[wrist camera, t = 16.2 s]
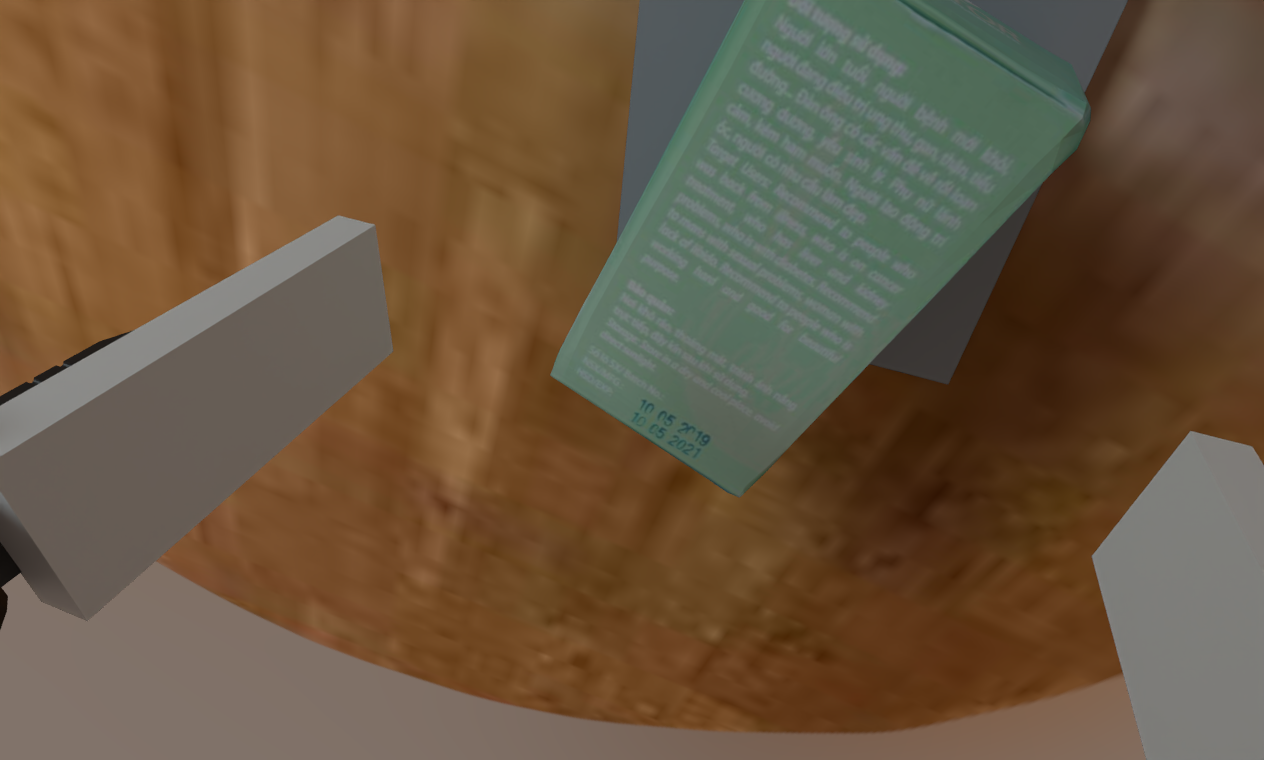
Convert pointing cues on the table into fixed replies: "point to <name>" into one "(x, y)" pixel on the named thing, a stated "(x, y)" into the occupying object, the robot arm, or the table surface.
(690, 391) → the box
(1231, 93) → the table surface
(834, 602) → the table surface
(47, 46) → the table surface
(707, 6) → the mat
